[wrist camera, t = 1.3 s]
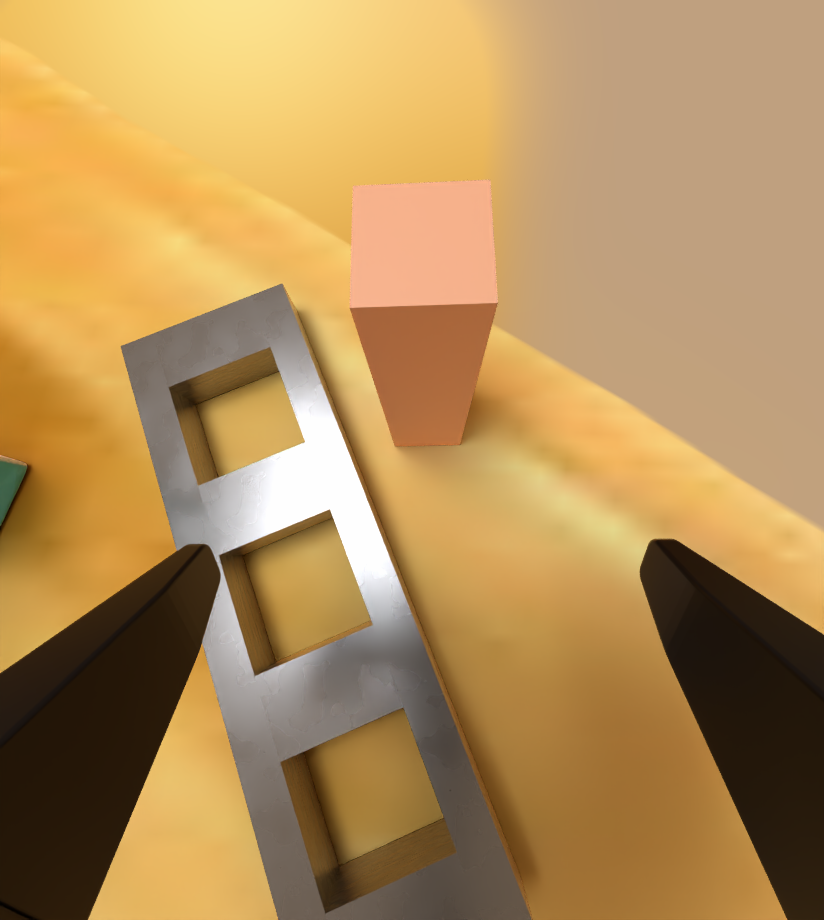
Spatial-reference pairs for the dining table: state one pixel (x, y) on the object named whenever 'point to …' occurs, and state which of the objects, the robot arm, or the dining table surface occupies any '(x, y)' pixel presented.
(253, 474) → the rail
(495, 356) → the dining table surface
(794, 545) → the dining table surface
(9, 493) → the game box
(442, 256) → the peg
